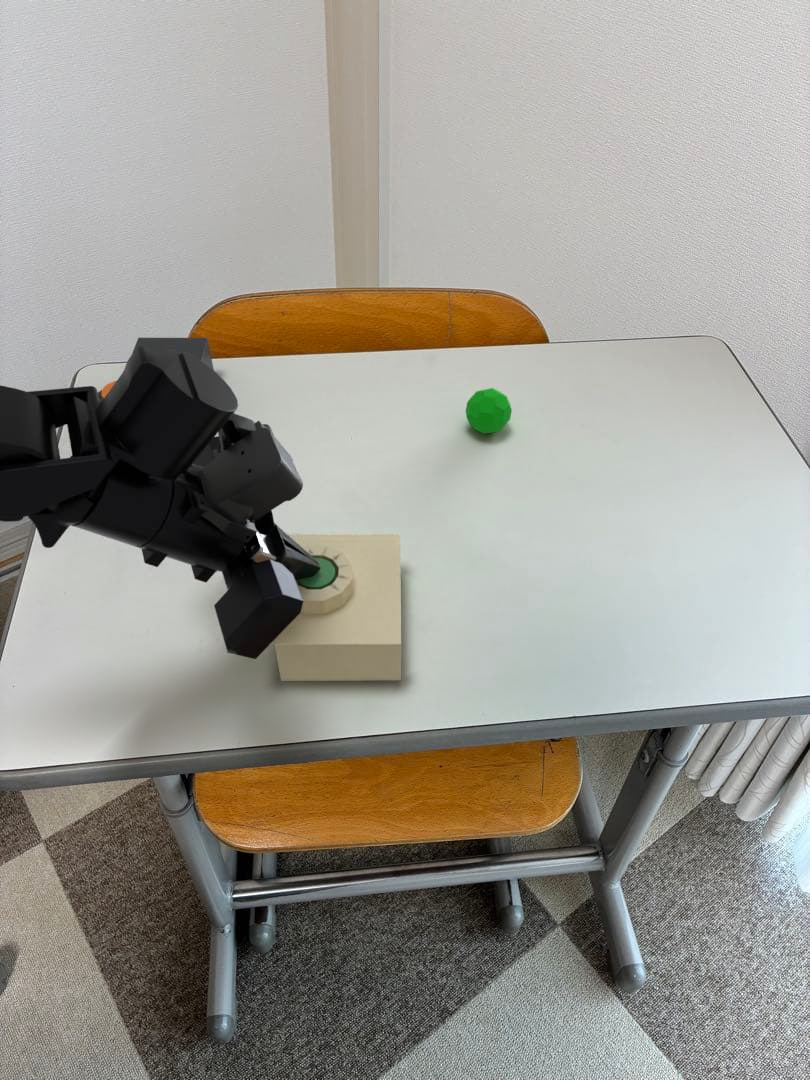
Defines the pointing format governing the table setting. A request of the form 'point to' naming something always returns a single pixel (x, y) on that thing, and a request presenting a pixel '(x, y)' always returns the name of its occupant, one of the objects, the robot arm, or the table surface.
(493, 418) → the polyhedron
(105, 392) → the button
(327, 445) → the table surface
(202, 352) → the dark gray block
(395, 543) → the box
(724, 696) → the table surface
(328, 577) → the power button
